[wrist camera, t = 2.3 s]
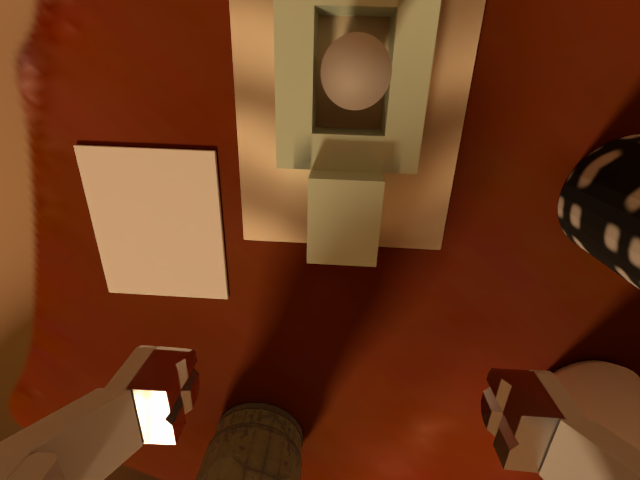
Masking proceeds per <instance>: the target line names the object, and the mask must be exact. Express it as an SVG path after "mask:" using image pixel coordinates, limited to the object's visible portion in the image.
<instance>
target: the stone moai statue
mask: <svg viewBox="0 0 640 480" xmlns="http://www.w3.org/2000/svg"><path fill="white" fill-rule="evenodd" d="M302 443H303V435H302V429H301V427H300V425H299V424H298V422H297V420H296V419H295V418H293V417H292V416H291V415H290V414H289V413H288V412H286V411H284V410H282V409H280V408H278V407H276V406H273V405H269V404H265V403H245V404H241V405H236V406H234V407H233V408H231V409H229V410H228V411H226V412H225V413H224V415H223V416H222V417H221V418H220V420H219V423H218V427H217V431H216V434H215V436H214V438H213V439H212V440H211V442H210V443H209V445H208V448H207V451H206V454H205V456H204V459H203V462H202V464H201V467H200V470H199V473H198V475H197V478H196V480H300V476H301V467H302V463H301V447H302Z"/></svg>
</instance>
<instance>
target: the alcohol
mask: <svg viewBox="0 0 640 480" xmlns="http://www.w3.org/2000/svg"><path fill="white" fill-rule="evenodd" d="M554 374H555V376H556V377H557V378H558V380H559V381H560V382H561V384H562V385H563V386H564V388H565V389H566V390H567V392H568V393H569V394H570V396H571V397H572V398H573V400H574V401H575V402H576V404H577V405H578V406H579V408H580V409H581V410H582V412H583V413H584V414H585V416H586V417H587V418H588V420H589V421H592V422H597V423H599V424H600V425H602V426H603V427H605V428H606V429H608V430H609V431H611V432H612V433H614V434H615V435H617V436H618V437H620V438H621V439H623V440H625V441H626V442H628V443H629V444H631V445H632V446H634V447H635V448H637V449H638V450H640V377H639V376H638V375H637V374H636V373H635V372H633V371H631V370H630V369H628V368H626V367H623V366H619V365H616V364H613V363H609V362H605V361H598V360H589V361H581V362H576V363H573V364H569V365H567V366H564V367H562V368H560V369H558V370H557V371H555V372H554Z"/></svg>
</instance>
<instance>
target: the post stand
mask: <svg viewBox="0 0 640 480" xmlns="http://www.w3.org/2000/svg"><path fill="white" fill-rule="evenodd" d="M485 2H486V0H441V6H440V13H439V21H438V28H437V35H436V42H435V49H434V56H433V63H432V71H431V78H430V85H429V92H428V99H427V106H426V113H425V121H424V128H423V135H422V142H421V149H420V156H419V164H418V171H417V174H401V173H382V175H383V178H384V180H385V187H384V197H383V206H382V216H381V226H380V235H379V245H378V247H395V248H414V249H433V250H440V249H441V244H442V238H443V233H444V227H445V222H446V216H447V211H448V205H449V200H450V195H451V189H452V184H453V178H454V173H455V167H456V162H457V156H458V151H459V145H460V140H461V134H462V129H463V123H464V118H465V112H466V107H467V101H468V96H469V90H470V85H471V79H472V74H473V68H474V63H475V57H476V52H477V46H478V41H479V35H480V30H481V24H482V19H483V13H484V8H485ZM229 7H230V23H231V39H232V55H233V71H234V87H235V104H236V120H237V136H238V152H239V168H240V185H241V201H242V217H243V233H244V240H259V241H278V242H298V243H307V212H308V177H309V174H310V172H311V170H307V169H284V168H276V118H275V68H274V18H273V0H229ZM389 28H390V17H373V16H332V15H318V52H317V95H316V127H329V128H356V129H380V124H381V114H382V103H383V95H384V94H385V92H386V90H387V89H388V86H389V84H390V80H391V75H392V64H391V59H390V56H389V53H388V51H387V49H388V39H389Z"/></svg>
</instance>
